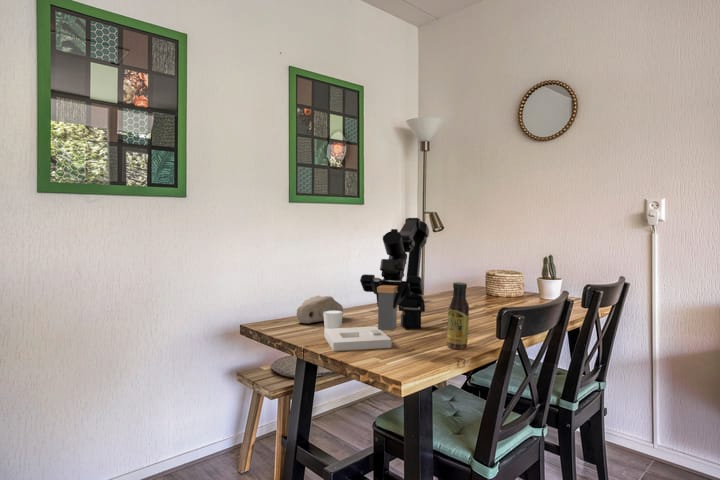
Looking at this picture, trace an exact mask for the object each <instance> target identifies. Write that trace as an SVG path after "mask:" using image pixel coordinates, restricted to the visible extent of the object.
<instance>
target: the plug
mask: <svg viewBox="0 0 720 480" xmlns="http://www.w3.org/2000/svg"><path fill="white" fill-rule="evenodd" d="M397 290H398V286H391V285H381V286H379V287H377V292H378V305H377V308H378V309H377V310H378V311H377V312H378V313H377V317H378V318H377V320H378V321H377V328H378V330H381V331H389V332H390V331H391V332H393V331H394V330H396V329H397V323H398V322H397V321H398V320H397V319H398V318H397V316H398V315H397V313H398V312H397V308H398V306H397V307H396V308H394V307H393V305H394V300H395V297H396V294H397Z"/></svg>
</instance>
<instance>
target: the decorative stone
mask: <svg viewBox="0 0 720 480" xmlns="http://www.w3.org/2000/svg"><path fill="white" fill-rule="evenodd" d="M330 310H337V311H342V312H343V313H344V308H343V305H342V304H341V303H340V302H338V301H336V300H335V298H334V297H333V296H330V295H326V296H321V295H316V296H312V297H310V298H308V299H305V300H304V301H303V302H302V304H301V305H300V306H298V308H297V309H296V318H295V321H296V322H297V323H302V324H313V323H314V324H315V323H318V322H324V314H323V312H325V311H330Z"/></svg>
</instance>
